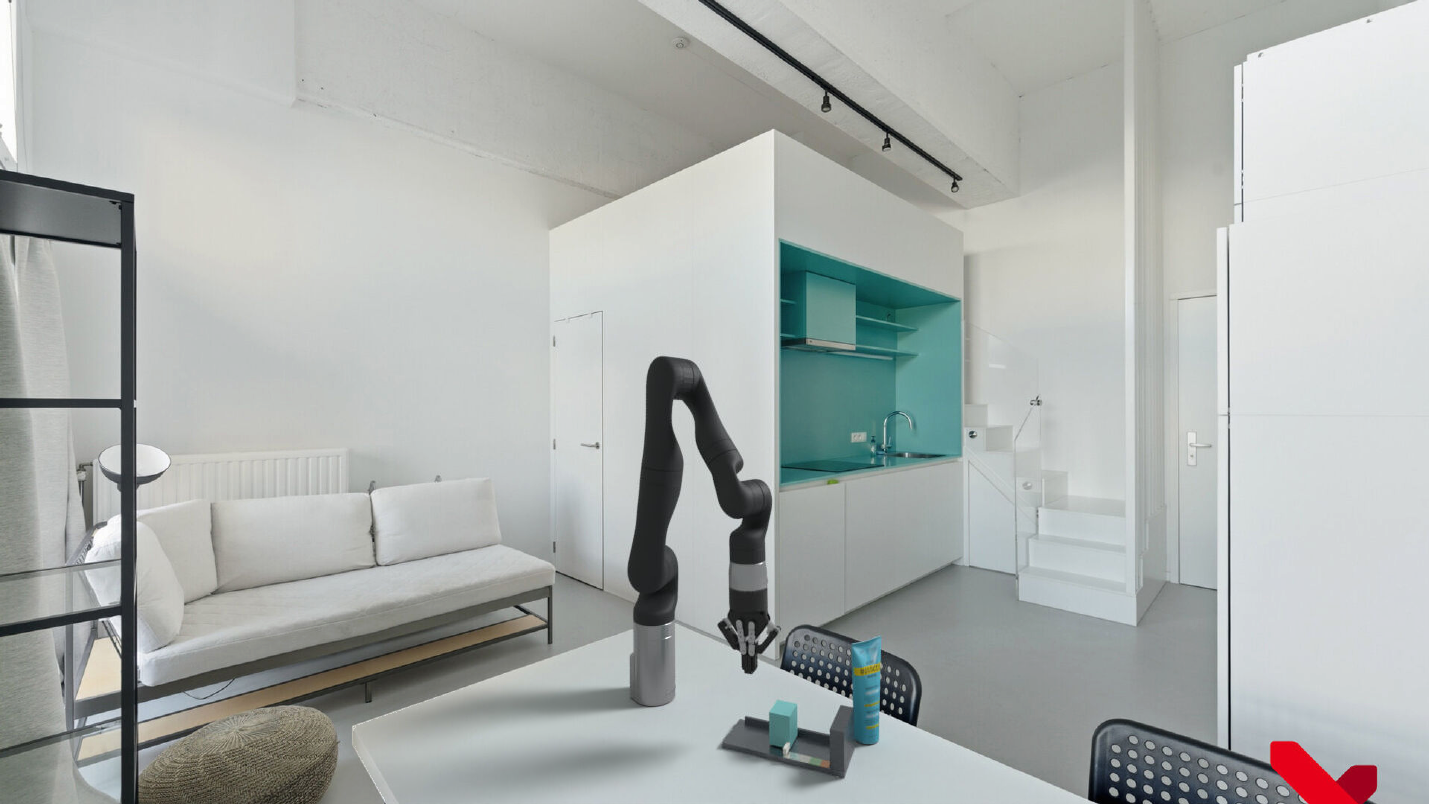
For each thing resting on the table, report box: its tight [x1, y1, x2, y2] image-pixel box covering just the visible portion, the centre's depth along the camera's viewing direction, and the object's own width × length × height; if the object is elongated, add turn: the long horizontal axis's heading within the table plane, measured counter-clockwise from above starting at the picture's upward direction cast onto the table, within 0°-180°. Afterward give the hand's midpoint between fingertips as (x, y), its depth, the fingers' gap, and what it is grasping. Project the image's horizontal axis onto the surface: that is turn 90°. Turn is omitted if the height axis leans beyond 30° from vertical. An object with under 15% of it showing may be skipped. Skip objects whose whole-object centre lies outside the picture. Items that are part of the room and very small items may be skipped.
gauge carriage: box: [768, 699, 798, 755], centre depth 112 cm, size 4×7×6 cm, turn 156°
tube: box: [850, 635, 882, 745], centre depth 116 cm, size 7×5×19 cm, turn 123°
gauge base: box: [721, 704, 855, 779], centre depth 112 cm, size 23×9×8 cm, turn 66°
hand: (749, 672), depth 116 cm, fingers closed
